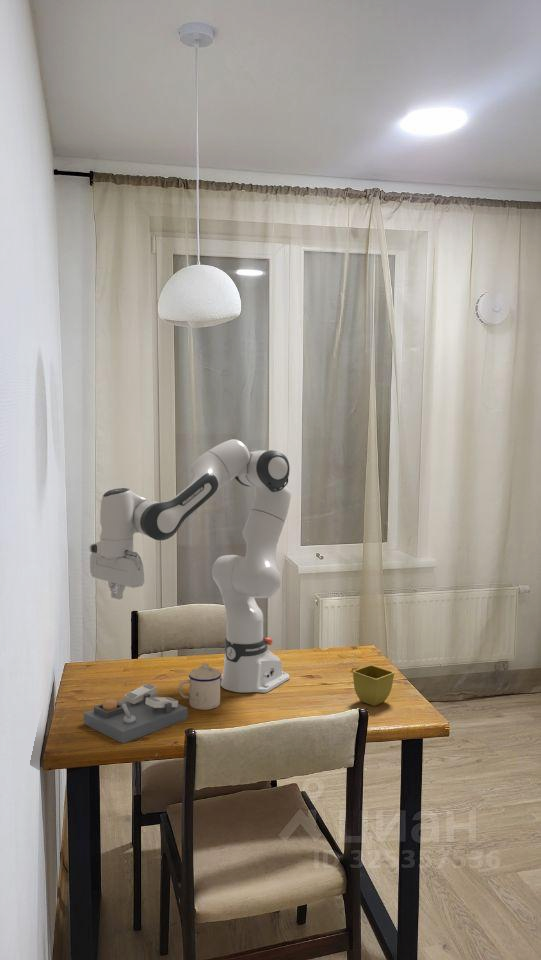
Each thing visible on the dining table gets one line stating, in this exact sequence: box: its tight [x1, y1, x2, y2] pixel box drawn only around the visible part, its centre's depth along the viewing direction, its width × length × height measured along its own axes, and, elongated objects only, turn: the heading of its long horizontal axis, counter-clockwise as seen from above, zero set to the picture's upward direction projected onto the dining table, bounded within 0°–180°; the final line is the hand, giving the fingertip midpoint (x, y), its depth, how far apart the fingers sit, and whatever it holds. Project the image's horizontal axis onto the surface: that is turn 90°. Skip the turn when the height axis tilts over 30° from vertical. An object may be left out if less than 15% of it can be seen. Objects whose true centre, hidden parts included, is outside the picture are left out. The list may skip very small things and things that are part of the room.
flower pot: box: [352, 664, 395, 707], centre depth 209 cm, size 9×9×9 cm
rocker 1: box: [123, 683, 158, 704], centre depth 200 cm, size 8×4×2 cm, turn 138°
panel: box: [83, 688, 188, 744], centre depth 193 cm, size 21×18×8 cm
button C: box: [102, 698, 118, 711], centre depth 192 cm, size 4×4×2 cm
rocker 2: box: [145, 696, 179, 708], centre depth 194 cm, size 8×4×2 cm, turn 138°
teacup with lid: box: [178, 662, 222, 711], centre depth 205 cm, size 12×9×12 cm
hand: (116, 598), depth 199 cm, fingers closed
